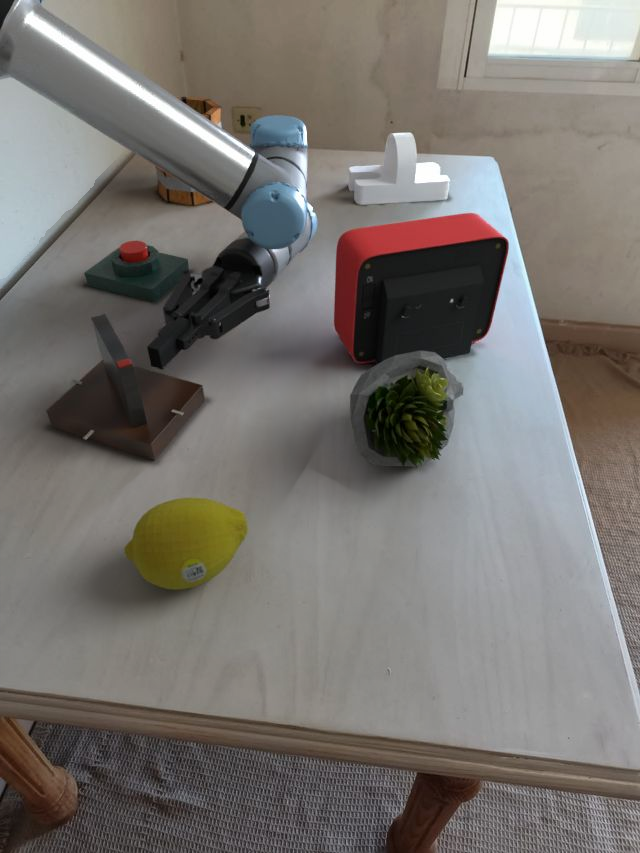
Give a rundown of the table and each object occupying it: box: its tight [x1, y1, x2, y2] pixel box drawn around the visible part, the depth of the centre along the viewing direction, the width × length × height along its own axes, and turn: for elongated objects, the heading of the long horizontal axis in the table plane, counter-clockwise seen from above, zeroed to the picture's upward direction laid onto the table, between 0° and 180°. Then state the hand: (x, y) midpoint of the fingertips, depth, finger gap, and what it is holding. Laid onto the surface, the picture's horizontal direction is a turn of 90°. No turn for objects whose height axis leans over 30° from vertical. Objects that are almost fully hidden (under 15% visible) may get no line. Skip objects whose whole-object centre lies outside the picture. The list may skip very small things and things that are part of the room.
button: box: [118, 240, 149, 263], centre depth 94 cm, size 4×4×2 cm
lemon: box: [124, 497, 248, 591], centre depth 56 cm, size 11×8×8 cm
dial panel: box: [45, 359, 206, 461], centre depth 74 cm, size 15×15×3 cm
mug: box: [155, 95, 223, 206], centre depth 119 cm, size 20×14×15 cm
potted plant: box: [349, 350, 464, 470], centre depth 66 cm, size 12×13×15 cm
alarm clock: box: [333, 212, 510, 365], centre depth 80 cm, size 10×20×16 cm, turn 108°
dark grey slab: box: [90, 313, 147, 427], centre depth 70 cm, size 11×2×8 cm, turn 29°
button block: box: [83, 244, 191, 303], centre depth 96 cm, size 12×10×4 cm
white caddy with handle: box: [347, 132, 451, 206], centre depth 119 cm, size 10×18×11 cm, turn 99°
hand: (154, 358), depth 70 cm, fingers closed
